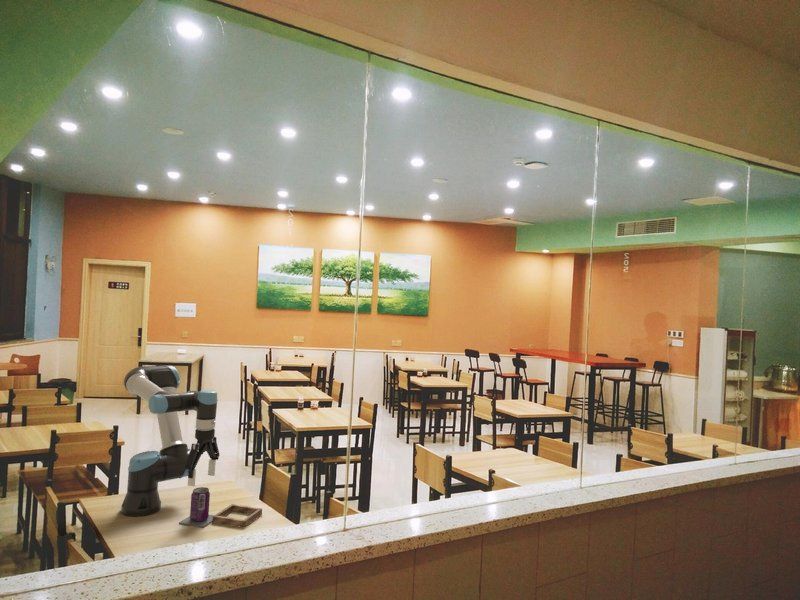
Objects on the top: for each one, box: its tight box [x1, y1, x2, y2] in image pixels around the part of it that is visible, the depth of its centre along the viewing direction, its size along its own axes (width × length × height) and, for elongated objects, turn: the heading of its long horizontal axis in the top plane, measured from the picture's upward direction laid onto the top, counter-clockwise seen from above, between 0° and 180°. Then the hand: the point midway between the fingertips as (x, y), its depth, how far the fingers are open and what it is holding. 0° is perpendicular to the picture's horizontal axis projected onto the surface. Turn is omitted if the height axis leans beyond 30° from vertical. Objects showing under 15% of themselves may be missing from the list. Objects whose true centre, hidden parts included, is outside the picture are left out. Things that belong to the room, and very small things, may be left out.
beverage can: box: [189, 486, 211, 522], centre depth 209 cm, size 7×7×12 cm
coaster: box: [178, 514, 215, 529], centre depth 209 cm, size 11×11×1 cm
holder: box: [211, 503, 263, 528], centre depth 213 cm, size 14×14×2 cm
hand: (201, 480), depth 210 cm, fingers open, 13 cm apart
